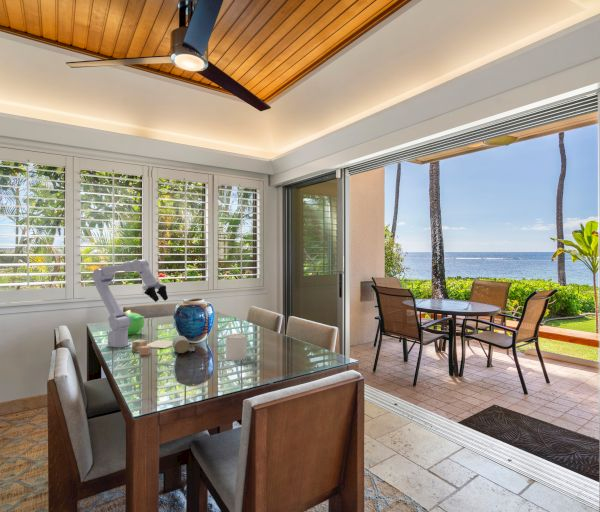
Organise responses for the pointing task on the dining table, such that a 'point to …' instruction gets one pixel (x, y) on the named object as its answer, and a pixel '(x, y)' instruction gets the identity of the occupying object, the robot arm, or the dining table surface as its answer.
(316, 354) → the dining table surface
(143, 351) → the terracotta block
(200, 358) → the dining table surface
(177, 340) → the ceramic mug
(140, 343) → the oak cube
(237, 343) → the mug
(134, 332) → the green rounded piece
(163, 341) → the trivet
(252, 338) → the dining table surface
